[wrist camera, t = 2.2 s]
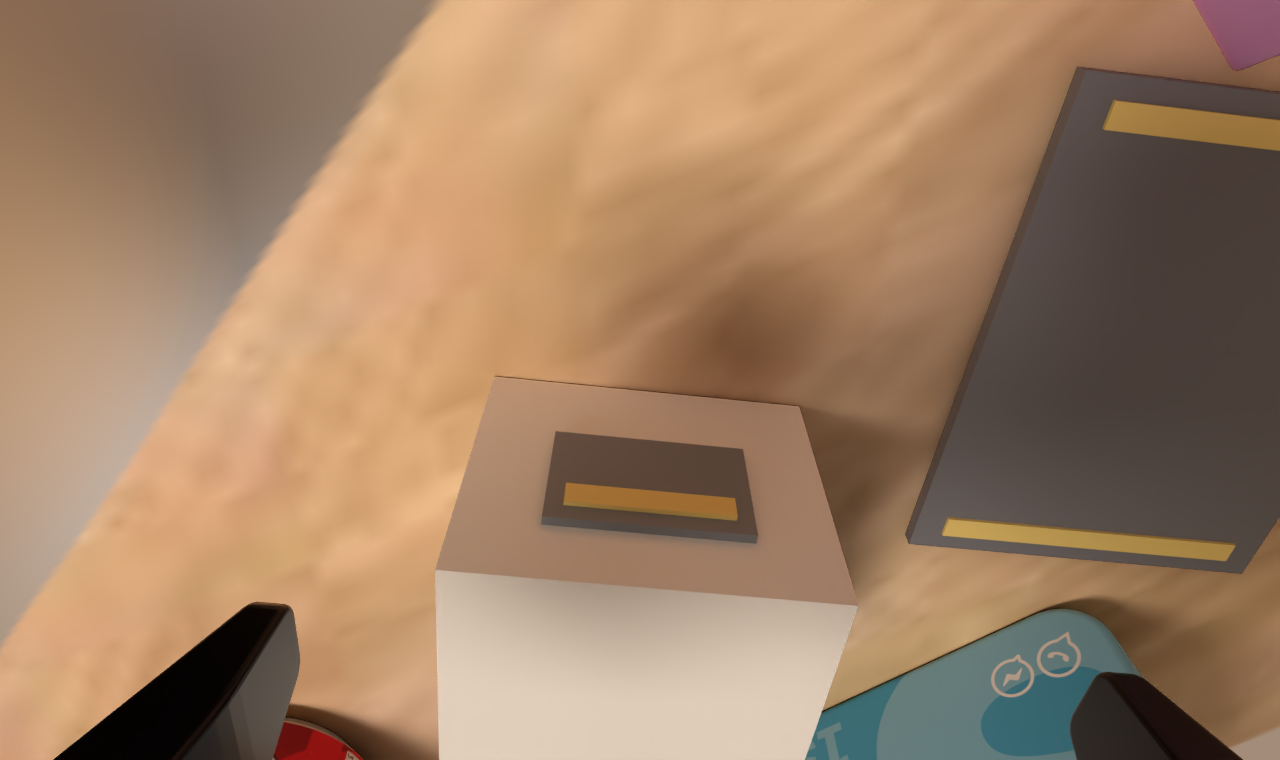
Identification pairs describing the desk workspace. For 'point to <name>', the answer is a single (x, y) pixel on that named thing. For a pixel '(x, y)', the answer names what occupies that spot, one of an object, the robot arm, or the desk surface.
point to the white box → (637, 581)
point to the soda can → (311, 743)
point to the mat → (1128, 341)
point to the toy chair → (1243, 29)
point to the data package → (980, 698)
